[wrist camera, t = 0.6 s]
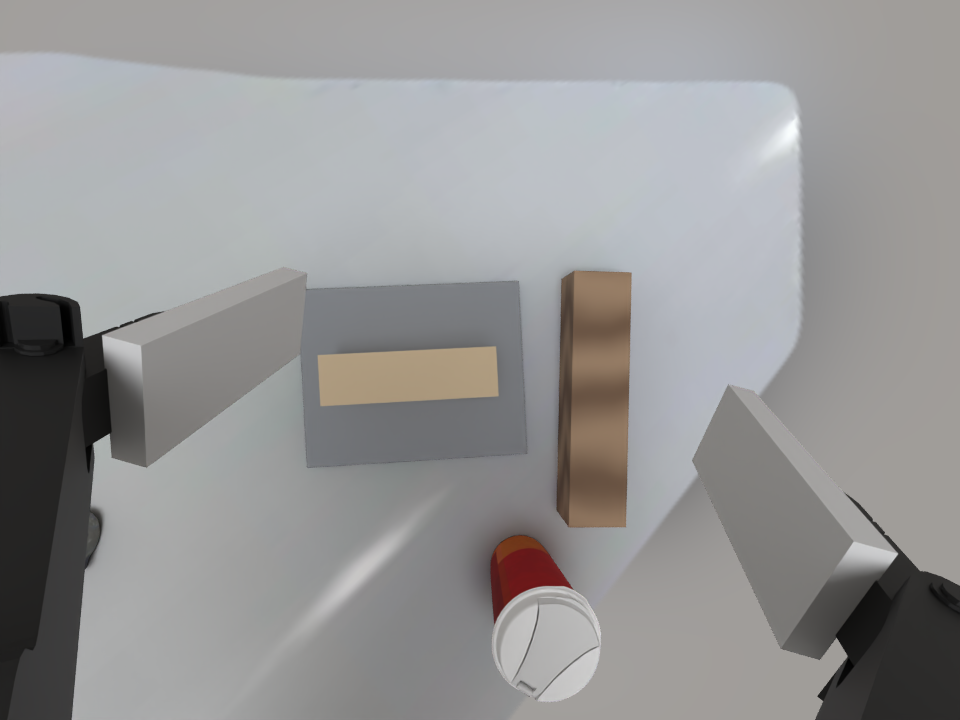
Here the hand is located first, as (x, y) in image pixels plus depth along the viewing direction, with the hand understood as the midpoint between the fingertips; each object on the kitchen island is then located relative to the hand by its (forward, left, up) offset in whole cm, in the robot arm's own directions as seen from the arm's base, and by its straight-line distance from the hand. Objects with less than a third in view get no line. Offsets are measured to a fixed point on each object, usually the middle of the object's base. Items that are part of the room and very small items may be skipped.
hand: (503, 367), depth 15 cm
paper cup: (-20, -4, -31) cm, 37 cm away
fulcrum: (-1, +5, -31) cm, 32 cm away
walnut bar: (-4, -11, -31) cm, 34 cm away
